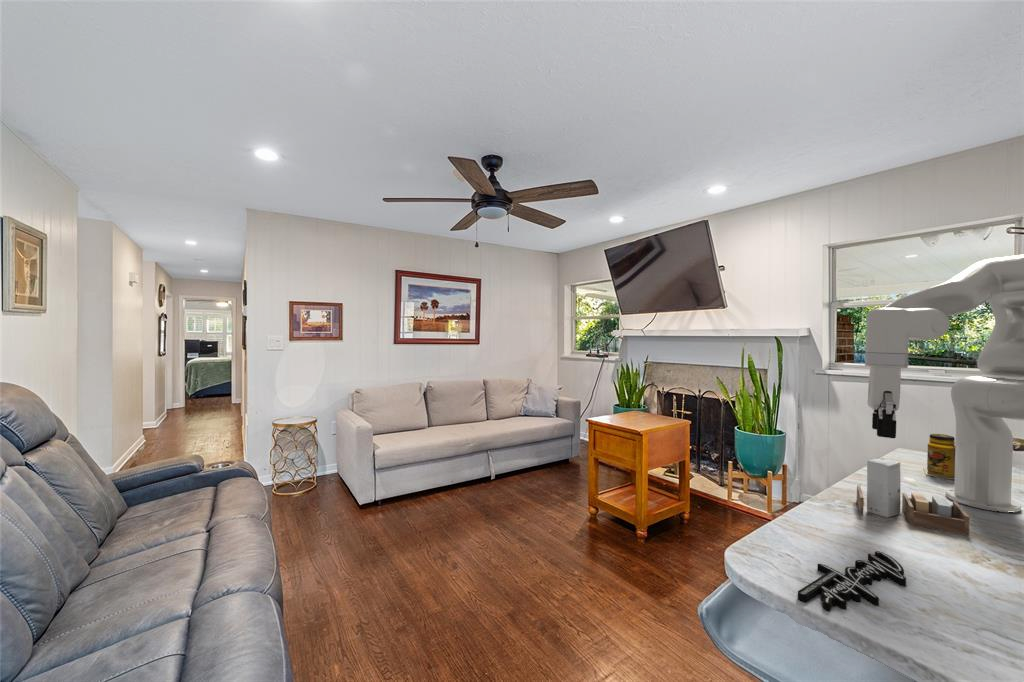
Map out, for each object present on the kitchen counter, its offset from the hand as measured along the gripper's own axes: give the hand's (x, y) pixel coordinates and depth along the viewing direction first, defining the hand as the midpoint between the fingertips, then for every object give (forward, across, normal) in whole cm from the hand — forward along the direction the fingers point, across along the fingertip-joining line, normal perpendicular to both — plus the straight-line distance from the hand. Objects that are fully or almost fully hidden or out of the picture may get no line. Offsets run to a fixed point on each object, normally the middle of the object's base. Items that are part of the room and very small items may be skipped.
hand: (883, 433), depth 99 cm
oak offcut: (+19, -1, +7) cm, 20 cm away
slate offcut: (+19, -1, +10) cm, 21 cm away
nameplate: (+20, +39, -7) cm, 45 cm away
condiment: (+18, -47, +18) cm, 53 cm away
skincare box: (+19, -1, 0) cm, 19 cm away
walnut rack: (+19, -1, +5) cm, 19 cm away
